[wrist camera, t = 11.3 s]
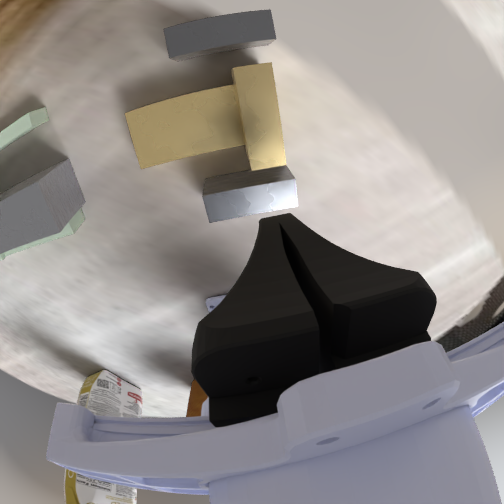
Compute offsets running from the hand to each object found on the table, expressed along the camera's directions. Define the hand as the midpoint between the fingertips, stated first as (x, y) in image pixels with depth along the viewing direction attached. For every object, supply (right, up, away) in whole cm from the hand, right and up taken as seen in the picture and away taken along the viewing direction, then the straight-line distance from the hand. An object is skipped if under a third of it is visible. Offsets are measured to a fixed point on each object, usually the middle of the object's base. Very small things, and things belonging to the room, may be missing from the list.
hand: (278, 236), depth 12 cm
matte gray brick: (-20, +4, +7) cm, 22 cm away
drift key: (-4, +8, +6) cm, 11 cm away
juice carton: (-23, -21, +25) cm, 40 cm away
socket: (-2, +9, +6) cm, 11 cm away
